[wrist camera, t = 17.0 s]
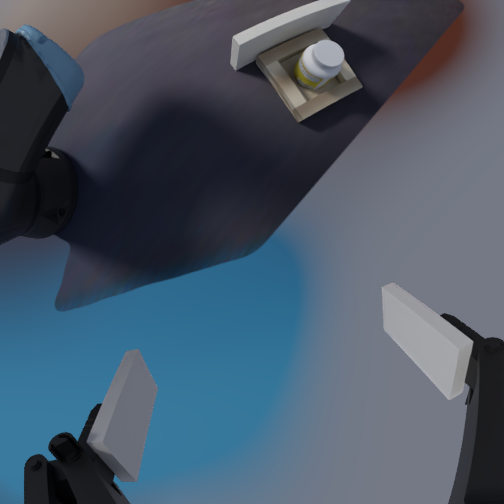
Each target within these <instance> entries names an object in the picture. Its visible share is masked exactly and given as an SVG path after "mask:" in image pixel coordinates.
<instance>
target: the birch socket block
mask: <svg viewBox="0 0 504 504" xmlns="http://www.w3.org/2000/svg"><path fill="white" fill-rule="evenodd" d="M322 40H330V39H329V37H328V36H327V35H326V34H325V32H324V31H323V30H322V28H321V27H320V28H318V29H315V30H313V31H311V32H308V33H306V34H303V35H301V36H299V37H297V38H294V39H292V40H290V41H288V42H285V43H283V44H281V45H279V46H277V47H275V48H273V49H271V50H269V51H267V52H265V53H263V54H261V55H259V56H258V57H257V60H256V64H257V65H258V67H259V68H260V69H261V71H262V72H263V73H264V75H265V76H266V77H267V79H268V80H269V82H270V83H271V84H272V86H273V87H274V89H275V90H276V91H277V93H278V94H279V96H280V97H281V98H282V100H283V101H284V103H285V104H286V106H287V107H288V109H289V110H290V112H291V113H292V115H293V116H294V118H295V119H296V121H297V122H298V123H299V122H301V121H302V120H304V119H306V118H307V117H309V116H311V115H313V114H314V113H316V112H318V111H320V110H322V109H323V108H325V107H327V106H329V105H331V104H332V103H334V102H336V101H338V100H340V99H342V98H343V97H345V96H347V95H349V94H351V93H353V92H355V91H357V90H358V89H360V88H362V87H363V86H362V84H361V83H360V81H359V80H358V78H357V77H356V75H355V74H354V72H353V71H352V69H351V68H350V66H349V65H348V64H347V62H346V61H345V59H344V60H343V62H342V66H341V70H340V72H339V73H338V74H337V75H336V76H335V77H334V78H332V79H331V80H330V81H329V82H328V83H326V84H325V85H324V86H323V87H321V88H320V89H317V90H307V89H304V88H302V87H301V86H299V85H298V84H297V83H296V81H295V79H294V77H293V68H294V66H295V64H296V63H297V61H298V60H299V58H300V57H301V55H302V54H303V52H304V51H305V50H306V49H307V48H308V47H309V46H310V45H313V44H317V43H318V42H319V41H322ZM330 41H331V40H330Z"/></svg>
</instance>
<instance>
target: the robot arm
mask: <svg viewBox="0 0 504 504" xmlns="http://www.w3.org/2000/svg"><path fill="white" fill-rule="evenodd" d="M83 84H84V73H83V70H82V69H81V67H80V66H79V64H78V63H77V62H76V61H75V60H74V59H73V58H72V57H71V56H70V55H69V54H68V53H67V52H66V51H64V50H63V49H62V48H61V47H60V46H59V45H57V44H56V43H55V42H54V41H52V40H51V39H48V38H47V37H46V36H45V35H43V33H42V32H40V31H39V30H37V29H35V28H34V27H32V26H29V25H23V26H22V27H21V28H20V29H18V30H17V31H16V33H13V32H11V31H9V30H7V29H5V28H4V29H1V30H0V245H1V244H3V243H5V242H8V241H10V240H12V239H14V238H17V237H19V236H22V237H27V238H33V239H41V238H46V237H49V236H51V235H53V234H55V233H57V232H59V231H60V230H61V229H63V228H64V227H65V225H66V224H67V223H68V222H69V220H70V218H71V216H72V214H73V212H74V209H75V206H76V201H77V192H78V187H77V179H76V174H75V171H74V168H73V166H72V164H71V162H70V161H69V159H68V158H67V157H66V156H65V155H64V154H63V153H62V152H61V151H59V150H58V149H56V148H53V147H47V146H48V144H49V142H50V140H51V138H52V137H53V135H54V133H55V131H56V130H57V128H58V126H59V124H60V123H61V121H62V119H63V118H64V116H65V114H66V113H67V112H69V111H70V110H71V107H72V103H73V101H74V100H75V98H76V96H77V95H78V93H79V91H80V90H81V88H82V87H83ZM382 301H383V324H384V331H385V332H386V333H387V334H388V335H389V336H390V337H391V338H392V339H393V340H394V341H395V342H396V343H397V344H398V345H399V346H400V347H401V348H402V350H403V351H404V352H405V353H406V354H407V355H408V356H409V357H410V358H411V359H412V360H413V361H414V362H415V363H416V365H418V367H419V368H420V369H421V370H422V371H423V372H424V373H425V374H426V375H427V376H428V378H429V379H430V380H431V381H432V382H433V383H434V384H435V385H436V386H437V387H438V388H439V390H440V391H441V392H442V393H443V394H444V395H445V396H446V398H447V399H448V400H450V399H452V398H454V397H455V396H457V395H459V394H461V393H462V392H463V388H464V384H465V383H466V384H468V386H469V387H470V388H469V392H468V396H467V399H466V403H465V404H466V405H467V413H466V421H465V429H464V436H463V442H462V448H461V453H460V458H459V463H458V468H457V473H456V477H455V481H454V485H453V489H452V492H451V496H450V500H449V503H448V504H504V342H503V340H501V339H499V338H493V337H492V338H486V339H484V338H483V337H482V336H480V335H479V334H478V333H476V332H475V331H474V330H472V329H471V328H470V327H468V326H466V325H465V324H464V323H463V322H461V321H460V320H458V319H457V318H456V317H454V316H451V315H448V314H445V313H444V314H442V315H440V316H439V315H438V314H436V313H435V312H434V311H433V310H431V309H430V308H429V307H427V306H426V305H424V304H423V303H422V302H420V301H419V300H418V299H416V298H415V297H413V296H412V295H411V294H409V293H408V292H406V291H405V290H404V289H402V288H401V287H399V286H398V285H396V284H395V283H390V284H387V285H384V286H382ZM157 390H158V387H157V386H156V383H155V381H154V380H153V378H152V376H151V374H150V372H149V370H148V368H147V366H146V364H145V362H144V359H143V357H142V355H141V353H140V351H139V350H138V349H136V350H131V351H126V353H125V355H124V357H123V359H122V361H121V364H120V365H119V368H118V370H117V372H116V374H115V376H114V379H113V381H112V383H111V385H110V387H109V390H108V392H107V394H106V396H105V399H104V401H103V403H102V404H97V405H96V406H95V407H94V408H93V410H91V412H90V414H89V417H88V420H87V421H86V423H85V426H84V428H83V431H82V433H81V435H80V437H79V440H78V442H77V441H76V439H75V438H74V437H73V435H72V434H70V433H67V432H65V433H60V434H58V435H56V436H55V437H54V438H52V440H51V441H50V443H49V447H48V448H49V451H50V452H51V453H52V454H53V455H54V457H55V458H56V459H57V460H53V461H48V460H47V459H46V458H45V457H44V456H43V455H40V454H37V455H34V456H32V457H30V458H29V459H28V460H27V462H26V463H25V467H24V504H130V503H129V501H128V500H127V499H126V497H125V496H124V495H123V493H122V492H121V490H120V489H119V487H118V486H117V484H115V482H114V481H113V479H114V475H116V476H117V477H118V478H119V479H120V480H121V481H122V482H123V481H124V482H137V480H138V474H139V470H140V464H141V459H142V455H143V450H144V446H145V441H146V437H147V432H148V428H149V423H150V419H151V415H152V411H153V406H154V402H155V398H156V394H157Z"/></svg>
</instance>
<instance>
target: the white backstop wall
mask: <svg viewBox="0 0 504 504" xmlns="http://www.w3.org/2000/svg"><path fill="white" fill-rule="evenodd" d="M350 1H351V0H319V1H316V2H313V3H310V4H307V5H304V6H302V7H299V8H296V9H294V10H291V11H289V12H286V13H283V14H281V15H279V16H276V17H274V18H271V19H269V20H267V21H265V22H262V23H260V24H258V25H256V26H254V27H251V28H249V29H247V30H245V31H243V32H241V33H239V34H237V35H235V36H233V39H232V50H231V62H230V64H231V65H232V66H233V68H234V69H235V70H238V69H240V68H242V67H244V66H245V65H247V64H249V63H251V62H253V61H255V60H257V57H258V56H259V55H261V54H263V53H265V52H267V51H269V50H271V49H273V48H275V47H277V46H279V45H281V44H283V43H285V42H288V41H290V40H292V39H294V38H297V37H299V36H301V35H303V34H306V33H308V32H311V31H313V30H315V29H318V28H320V27H321V28H322V29H325V28H327V27H329V26H330V25H331V24H332V22H333V21H334V20H335V19H336V18H337V16H338V15H339V14H340V13H341V12H342V10H343V9H344V8H345V7H346V6H347V4H348V3H349V2H350Z"/></svg>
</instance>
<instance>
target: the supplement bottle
mask: <svg viewBox="0 0 504 504" xmlns="http://www.w3.org/2000/svg"><path fill="white" fill-rule="evenodd" d="M343 60H344V52H343V50H342V48H341V47H340V46H339V45H338V44H337V43H335V42H333V41H330V40H322V41H319V42H318V43H317V44H313V45H310V46H309V47H308V48H307V49H306V50H305V51H304V52H303V54H302V55H301V57H300V58H299V60H298V61H297V63H296V64H295V66H294V68H293V77H294V79H295V81H296V83H297V84H298V85H299V86H301V87H302V88H304V89H307V90H317V89H320V88H321V87H323V86H324V85H325V84H326V83H328V82H329V81H330V80H331V79H332V78H334V77H335V76H336V75H337V74H338V73H339V72H340V70H341V66H342V62H343Z"/></svg>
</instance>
